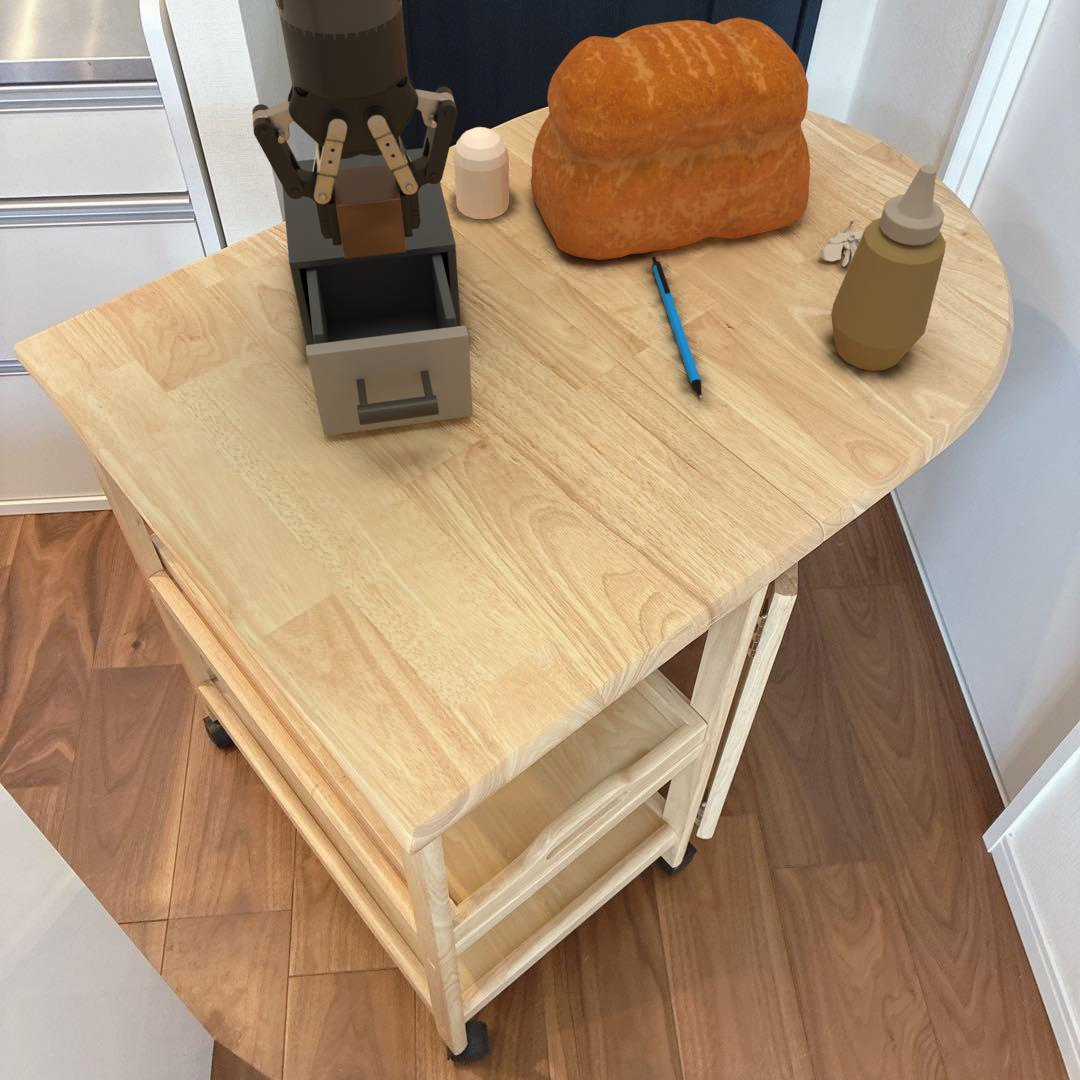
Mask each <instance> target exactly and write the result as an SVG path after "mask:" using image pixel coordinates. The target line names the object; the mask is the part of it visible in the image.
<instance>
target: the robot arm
mask: <svg viewBox="0 0 1080 1080" xmlns="http://www.w3.org/2000/svg"><path fill="white" fill-rule="evenodd" d="M274 1H275V4H276V7H277V11H278V15H279V20H280V26H281V31H282V37H283V42H284V47H285V53H286V58H287V64H288V69H289V74H290V81H291V87H290V91H289V93H288V96H287V101H285V102H283V103H280V104H277V105H275V106H274V105H273V106H272V107H269V106H268V105H265V104H263V103H262V104H261V103H260V104H256V105H255V106H254V107H253V108H252V113H251V115H252V127H253V128H252V129H253V135H254V137H255V139H256V141H257V143H258V144H259V146H260V148H261V149H262V151H263V153H264V155H265V157H266V158H267V160H268V162H269V164H270V166H271V168H272V170H273V171H274V173H275V175H276V176H277V179H278V180H279V182H280V184H281V186H283V188H284V189H285V191H286V193H287V195H288V196H289V197H290V198H292V199H299V198H301V197H302V196H304V197H309V198H311V199H313V200H314V201H315V203H316V206H317V211H318V217H319V222H320V228H321V233H322V235H323V236H324V238H325V239H330V238H332V241H333V246H334V245H342V241H341V235H340V228H339V222H338V216H337V210H336V204H335V196H334V189H333V187H334V182H335V178H336V177H337V174H338V169H339V164H340V159H347V158H352V157H355V156H357V155H361V154H363V155H370V156H376V155H383V156H384V158H385V160H386V163H387V165H388V167H389V169H390V170H391V172H393V174H394V176H395V178H396V180H397V184H398V189H399V194H400V199H401V207H402V216H403V226H404V235H405V237H413V234H412V229H417V228H419V225H420V223H421V221H420V211H419V199H418V191H419V189H420V187H421V186H423V185H425V184H427V183H430V184H437V183H439V182H440V183H441V181H442V179H443V176H444V173H445V169H446V164H447V159H448V155H449V151H450V147H451V143H452V138H453V135H454V131H455V127H456V122H457V117H458V109H457V105H456V102H455V97H454V95H453V92H452V90H451V88H449V87H448V86H440V87H438V88H437V89H436V90H435V91H429V90H424V89H417V87H416V85H415V83H414V81H413V80H412V78H411V77H410V75H409V69H408V56H407V47H406V33H405V26H404V25H405V24H404V13H403V3H402V2H403V0H274ZM417 110H418V111H419V112H421V117H422V120H423V125H425V126H426V127H427V128H426V132H425V137H424V141H423V145H422V148H423V150H422V155H421V157H420V158H418V159H416V160H413V161H411V160H410V158H409V156H408V154H407V151H406V150H407V149H406V147H405V144H404V142H403V139H402V137H401V134H402V133H403V131H404V129H405V128H406V126H407V125H408V123H409V122H410V120H411V118H412V117H413V115H414V114H415V113H416V111H417ZM293 122H294V123H295V124H296V125H297V126H298V127H300V128H301V129H302V131H303V132H305V133H306V134H307V135H308V137H310V138H311V139H312V140H313V141H314V142H316V143H315V152H314V159H315V160H314V165H313V171H307V170H303V169H301V168H300V166H299V164H298V162H297V161H298V160H297V158H296V156H295V154H294V152H293V150H292V148H291V146H290V144H289V143H288V140H289V139H290V137H291V132H290V131H291V130H290V125H291V124H292V123H293ZM283 188H282V189H283Z"/></svg>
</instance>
